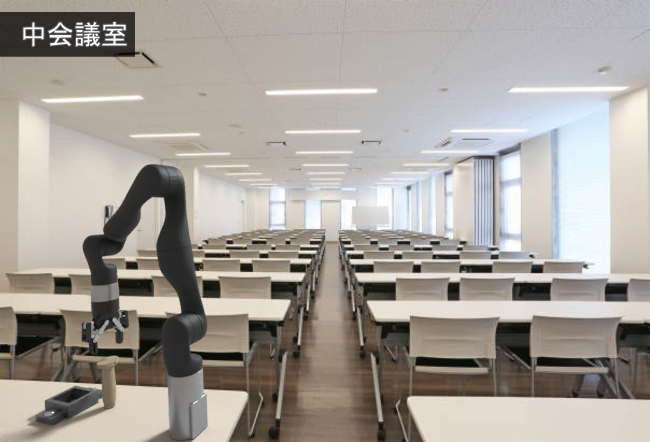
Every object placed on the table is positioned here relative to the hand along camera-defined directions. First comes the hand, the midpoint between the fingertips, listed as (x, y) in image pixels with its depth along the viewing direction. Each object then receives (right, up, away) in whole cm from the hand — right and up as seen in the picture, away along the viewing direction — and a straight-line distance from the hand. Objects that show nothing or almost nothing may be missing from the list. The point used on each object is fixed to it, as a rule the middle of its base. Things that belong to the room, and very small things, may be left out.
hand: (107, 348), depth 109 cm
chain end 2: (-11, -19, +3) cm, 22 cm away
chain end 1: (-12, -19, -2) cm, 23 cm away
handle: (0, -19, +1) cm, 19 cm away
